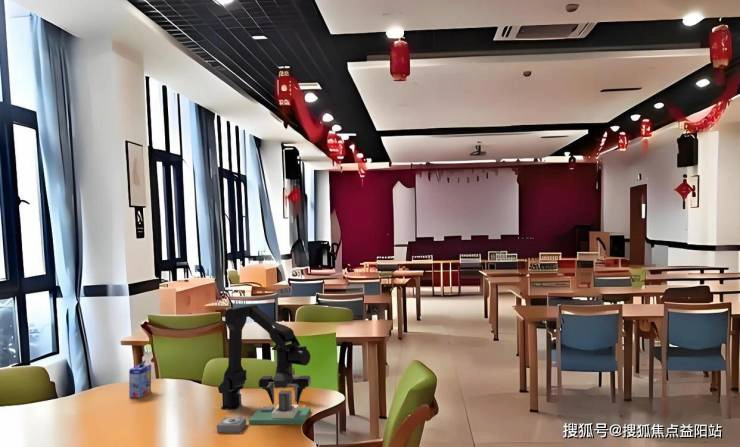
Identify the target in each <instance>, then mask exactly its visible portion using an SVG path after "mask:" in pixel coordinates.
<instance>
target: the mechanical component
mask: <svg viewBox="0 0 740 447" xmlns="http://www.w3.org/2000/svg"><path fill="white" fill-rule="evenodd" d="M300 376H301V375H298V374H293V378H299V377H300ZM288 386H291V387H293V391H294V402H297V387H298V384H288Z"/></svg>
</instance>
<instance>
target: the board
mask: <svg viewBox="0 0 740 447" xmlns="http://www.w3.org/2000/svg"><path fill="white" fill-rule="evenodd" d="M310 413H311V407H309V406H308V407H307V406H306V407H304V406H303V407H302V406H299V404H298V405H297V404H292V411H287V412H281V411H279V404H277V405H276V407H275V405H274V406H273V405H265V406H262V407H258V408H257V410H256V411H255V412H254V413H253V414H252V416H251V417H250V418H249V419H248V425H304V424H305V422H306V420H307V418H308V417H309V415H310Z"/></svg>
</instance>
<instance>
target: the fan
mask: <svg viewBox="0 0 740 447" xmlns="http://www.w3.org/2000/svg"><path fill="white" fill-rule="evenodd" d="M246 425H247V417H243V416H241V417H239V416H238V417H234V416H233V417H228V416H227V417H226V416H225V417H224V418H222V419H221V420H220V421H219V423H218V424H217V425H216V433H217V434H219V433H220V434H221V433H223V434H224V433H227V434H228V433H229V434H231V433H232V434H233V433H235V434H236V433H241V431H242V430H243V429H244V428H245V427H246Z"/></svg>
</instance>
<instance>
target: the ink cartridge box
mask: <svg viewBox="0 0 740 447" xmlns="http://www.w3.org/2000/svg"><path fill="white" fill-rule="evenodd" d="M128 371H129V373H128V376H129V377H128V378H129V380H128V381H129V382H128V384H129V385H128V386H129V388H128V392H129V394H128V396H129V398H142V397H144V396H145V395H147V394H149V393H151V392H152V364H151V363H148V364H147V363H146V359H145V360H144V361H141V362H140V364H138V365H136V366H133V367H132V368H129V370H128Z"/></svg>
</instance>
